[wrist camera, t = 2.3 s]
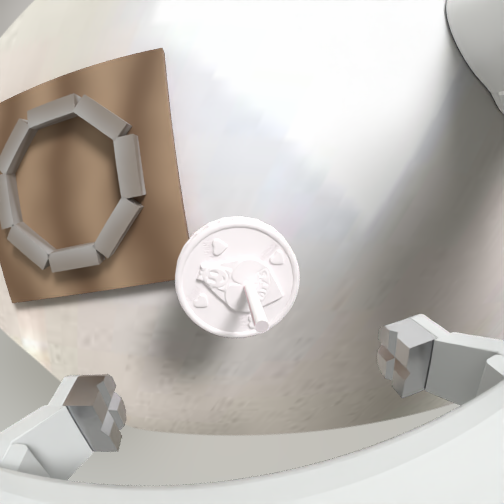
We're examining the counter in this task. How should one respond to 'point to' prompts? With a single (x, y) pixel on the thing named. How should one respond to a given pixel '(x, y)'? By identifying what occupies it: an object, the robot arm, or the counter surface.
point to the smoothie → (237, 277)
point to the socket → (90, 182)
